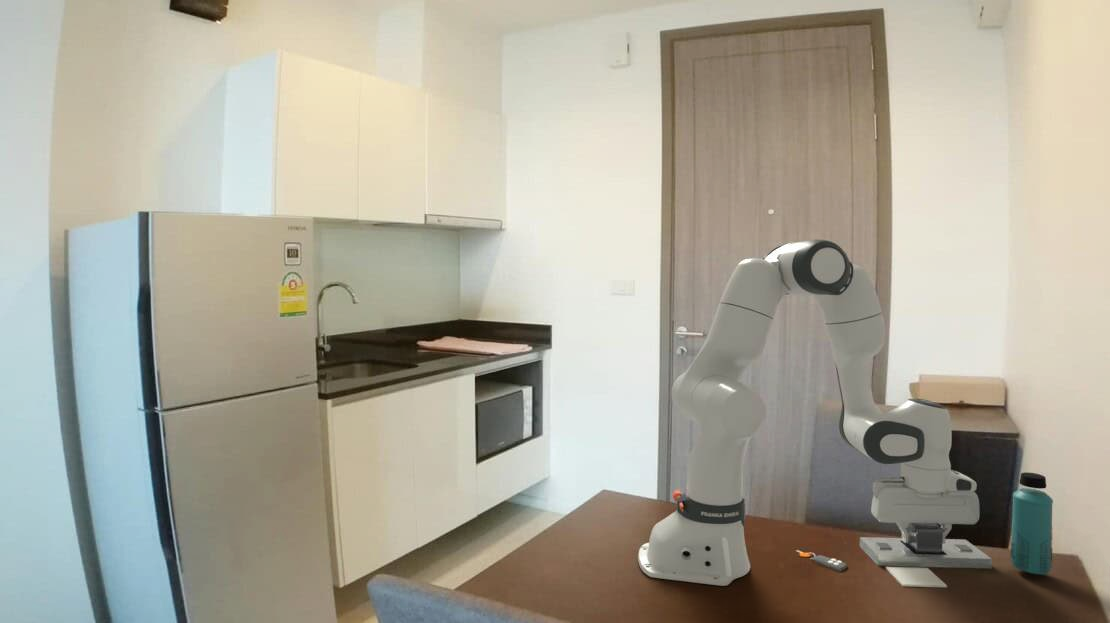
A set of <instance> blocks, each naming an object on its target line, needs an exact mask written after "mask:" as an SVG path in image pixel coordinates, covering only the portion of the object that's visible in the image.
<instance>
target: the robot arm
mask: <svg viewBox="0 0 1110 623" xmlns="http://www.w3.org/2000/svg"><path fill="white" fill-rule="evenodd" d="M875 288H876V287H874V283H873V281H872V279H871V277H870V275H869V273H868V272H867V270H866V269H865V268H864V267H862V266H860V265H857V264H854V263H852V262H851V260H850V258H849V257H848V255H847V254H846V252H845V251H844V250H843V248H841V247H840V245H838V244H837V243H835V242H833V241H831V240H826V239H819V238H818V239H811V240H798V241H793V242H789V243H787V244H784V245H779V246H776V247H775V248H773V249H772V250H770V251H769V252H768V253H767V254H766V255H765V256H764V257H763V258H755V257H754V258H753V257H752V258H747V259H743V260H742V261H740V262H739V263H738V264H737V265H736V267H735V269H734V270H733V272H732V274H731V276H730V278H729V280H728V281H727V283H726V286H725V288H724V290H723V293H722V296H721V298H720V301H719V303H718V306H717V309H716V312H715V315H714V318H713V321H712V323H711V326H710V329H709V332H708V334H707V336H706V338H705V341H704V343H703V345H702V346H701V348H700V350H699V351H698V353H697V355H696V356H695V358H694V360H693V361H692V363H691V364H690V366H689V367H688V368H687V370H686V371H685V372H683V373H682V374H680V375H679V376H678V377H677V378H676V380H675V381H674V382H673V384H672V387H671V399H672V402H673V404H674V406H675V407H676V408H677V410H678V411H679V412H680V413H681V414H682V416H684V417H685V418H686V419H687V420H689V421H692V422H694V423H696V424H697V426H698V435H697V440H696V442H695V446H694V448H693V449H692V450H691V451H690V452H689V454H688V455H687V458H686V491H685V492H684V493H682V491H681V490H679V489H676V490H674V491H673V492H672V498H673V500H674V502H676V510H675V511H674V512H672V513H671V514H669V515H668V516H666V517H665V518H663V519H662V520H660V521H659V522H657V523H656V524H655V525H654V526H653V527H652V529H651V533H650V537H649V540H648V541H649V542H646V543H644V544H642V545H641V546H640V548H639V550H638V556H637V558H638V559H637V560H638V564H639V567H640V570H641V571H642V572H643V573H644V574H645V575H647V576H648V577H650V578H656V579H664V580H670V581H671V580H672V581H680V582H688V583H695V584H705V585H713V586H722V587H723V586H724V587H725V586H728V585H730V584H731V583H732V582H733V581H734V580H736V579H738V578H741V577H744V576H745V575H747V574H748V573H749V572H750V570H751V564H750V560H749V556H748V552H747V547H746V540H745V533H744V532H745V531H744V527H745V521H746V502H745V500H746V499H745V498H744V497H743V496H744V495H743V492H744V491H743V490H744V488H743V487H744V465H745V464H744V463H745V458H746V457H745V456H746V453H747V450H748V447H749V444H750V441H751V440H752V437H753V436H755V434H758V432H759V431H760V430H761V428H762V427H763V425H764V423H765V419H766V414H767V411H766V410H767V408H766V405H765V402H764V400H763V398H762V397H761V395H760V394H759V393H757V392H756V391H755V390H754V389H753V388H751V387H750V386H749V385H747V384H746V383H744V382H741V381H739V380H740V378H742V375H743V374H744V373H745V371H746V370H747V369H748V367H750V365H752V364H753V363H755V362H757V361H758V360H759V358H760V357H761V356H762V355H763V352H764V349H765V346H766V343H767V340H768V337H769V333H770V331H771V328H772V324H773V322H774V320H775V315H776V313H777V309H778V305H779V304H780V303H781V300H782V299H783V298H784V297H785V296H786V295H793V296H794V295H795V296H800V297H801V296H802V297H803V296H813V297H814V298H815V299H816V301H817V302H818V304H819V306H820V309H821V313H822V314H821V316H822V319H823V323H824V324H823V325H824V328H825V331H826V335H827V338H828V341H829V344H830V348H831V351H832V355H833V359H834V364H835V365H834V366H835V371H836V376H837V381H838V382H837V383H838V388H839V393H840V398H841V411H840V412H841V413H840V416H839V417H840V418H839V422H838V428H839V434H840V435H841V436H840V437H841V438H842V440H843V441H844V442H845V443H846V444H847V445H848V446H850V447H851V448H853V449H855V450H858V451H859V452H860V453H862V454H863V455H865V457H868V458H869V459H870V460H872V461H873V462H876V463H879V464H883V465H893V464H900V476H881V477H879V478H877V479H876V480H875V481H873V483H872V494H873V496H872V500H871V507H870V508H871V510H870V512H871V515H872V516H873V517H874V518H875V519H876V520H877V521H879V522H880V523H891V524H895V523H896V526H897V527H898V528H899V531H900V532H901V538H902V541H903V542H904V543H913V540H912V539H913V535H912V534H910V533H909V532H907V530H906V529H905V527H906V528H907V527H908V523H936V524H937V525H939V526H940V527H941V528H943V529H944V533H943V541H942V544H945V539H946V537H947V536H948V534H950V531H951V530H952V527H953V525H976V524H977V522H978V521H979V520H980V500H979V497H978V495H977V493H976V492H975V491H976V490H977V486H978V485H977V482H976V481H975V480H973V478H971V477H969V476H968V475H965V474H963V473H961V472H959V471H956V470H954V469H952V468H951V467H952V464H951V461H950V455H949V454H950V451H951V448H952V440H953V439H952V437H953V435H952V420H951V415H950V412H949V410H948V409H947V408H946V407H945V406H944V405H942V404H940V403H938V402H934V401H931V400H926V399H922V398H915V397H914V398H912V397H911V398H908V399H907V400H906V401H905V402H904V403H902V404H901V405H899V406H897V407H895V408H893V409H892V410H888V411H886V412H883V411H882V410H880V408H879V407H878V405H877V404H876V403H875V401H874V396H873V391H872V385H871V384H872V383H871V380H870V379H871V378H870V373H869V365H870V364H869V363H870V361H871V359H872V358H873V357H874V356H876V355H877V354H878V353H880V352H881V350H882V349H883V348H884V347H885V344H886V323H885V319H884V314H883V311H882V307H881V306H882V305H881V304H880V299H879V297H878V294H877V291H876V289H875Z"/></svg>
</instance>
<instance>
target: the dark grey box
mask: <svg viewBox="0 0 1110 623" xmlns="http://www.w3.org/2000/svg"><path fill="white" fill-rule="evenodd" d="M905 529H906V530H907V532H909V533H910V534H912V535H913V539H912V540H913V543H905V546H906V547H907V548H908V549H909V550H911V551H912V552H913V553H914V554H927V555H942V541H943V533H944V529H943V528H941V525H940V524H938V523H908V527H907V528H906V527H905Z"/></svg>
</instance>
